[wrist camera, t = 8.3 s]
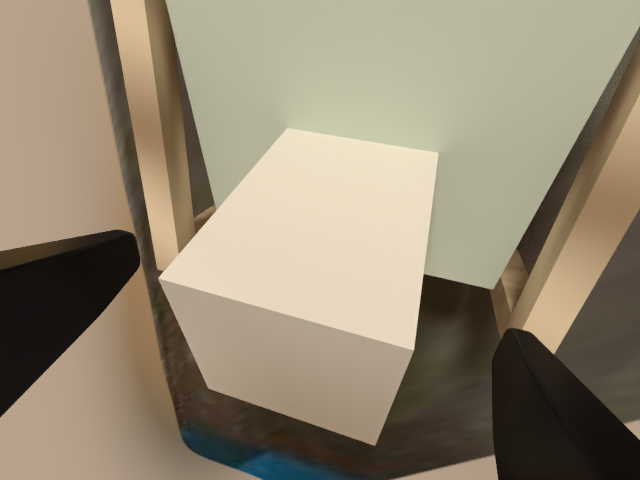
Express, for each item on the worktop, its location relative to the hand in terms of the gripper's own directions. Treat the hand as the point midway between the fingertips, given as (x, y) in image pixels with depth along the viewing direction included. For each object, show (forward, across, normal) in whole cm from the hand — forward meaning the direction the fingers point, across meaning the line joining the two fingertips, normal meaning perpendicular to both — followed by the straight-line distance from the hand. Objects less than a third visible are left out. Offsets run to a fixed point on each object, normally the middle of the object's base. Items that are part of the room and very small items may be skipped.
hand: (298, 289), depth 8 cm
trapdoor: (+6, 0, -3) cm, 7 cm away
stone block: (+6, 0, 0) cm, 6 cm away
